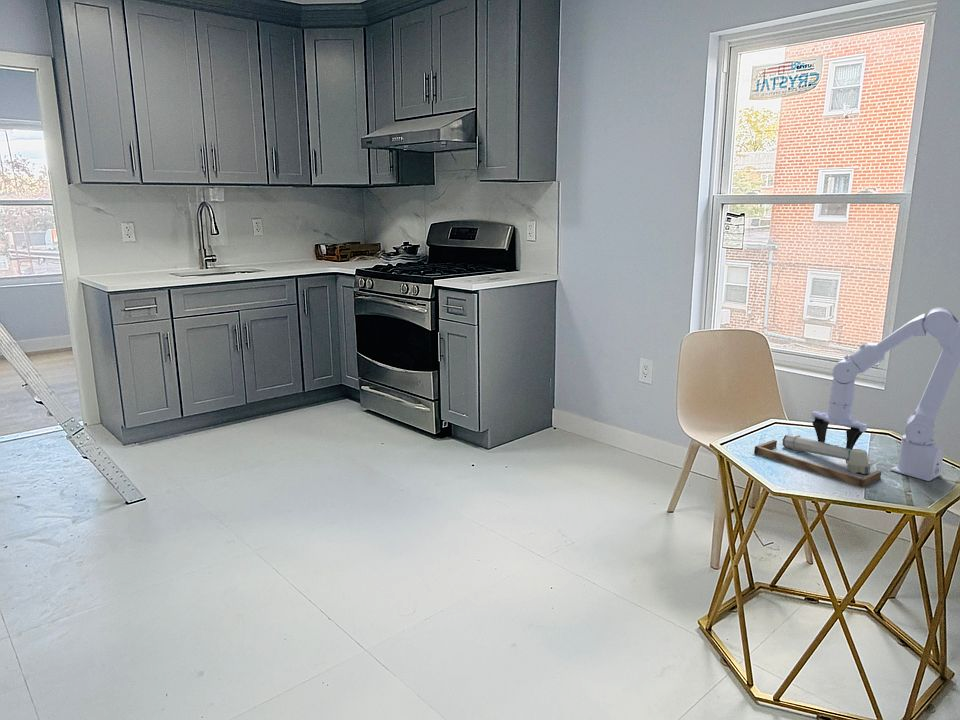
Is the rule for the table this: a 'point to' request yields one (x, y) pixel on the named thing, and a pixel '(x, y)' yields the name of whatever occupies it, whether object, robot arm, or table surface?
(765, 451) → the walnut bay
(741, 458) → the table surface
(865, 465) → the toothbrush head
